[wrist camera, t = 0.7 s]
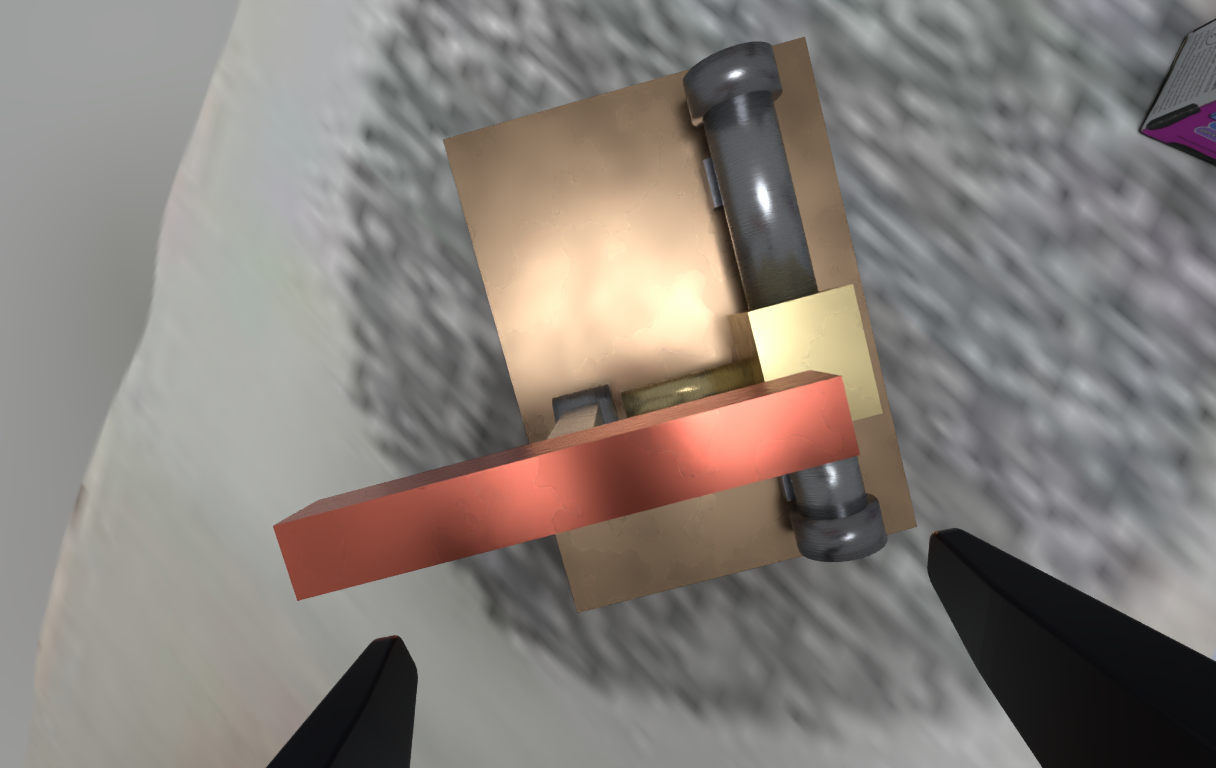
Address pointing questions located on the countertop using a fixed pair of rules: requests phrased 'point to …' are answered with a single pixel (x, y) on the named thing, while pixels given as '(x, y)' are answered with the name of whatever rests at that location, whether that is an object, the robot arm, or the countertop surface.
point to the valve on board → (686, 300)
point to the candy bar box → (1189, 98)
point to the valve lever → (569, 479)
